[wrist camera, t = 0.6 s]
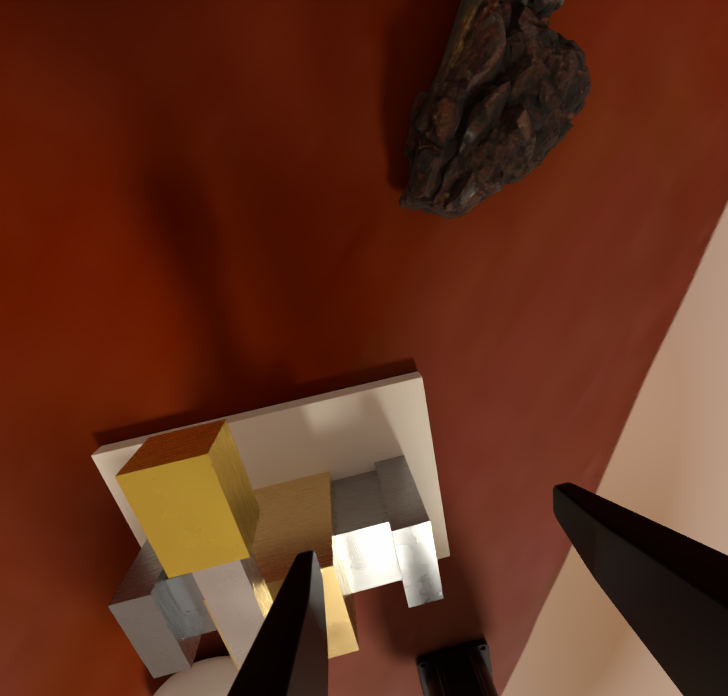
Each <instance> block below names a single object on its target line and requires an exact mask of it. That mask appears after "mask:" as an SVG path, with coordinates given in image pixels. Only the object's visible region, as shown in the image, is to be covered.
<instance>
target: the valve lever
mask: <svg viewBox="0 0 728 696" xmlns="http://www.w3.org/2000/svg"><path fill="white" fill-rule="evenodd" d="M115 478H116V480H117V482H118V484H119V486H120V488H121V490H122V491H123V493H124V495H125V497H126V499H127V501H128V503H129V505H130V506H131V508H132V510H133V512H134V514H135V516H136V518H137V520H138V522H139V523H140V525H141V527H142V529H143V531H144V533H145V535H146V537H147V538H148V540H149V542H150V544H151V546H152V548H153V550H154V552H155V554H156V555H157V557H158V559H159V561H160V563H161V565H162V567H163V569H164V570H165V572H166V574H167V576H168V578H172V577H176V576H180V575H184V574H188V573H192V575H193V577H194V579H195V581H196V583H197V585H198V587H199V589H200V591H201V593H202V595H203V597H204V599H205V601H206V603H207V605H208V607H209V609H210V611H211V613H212V615H213V617H214V619H215V621H216V623H217V625H218V627H219V629H220V631H221V633H222V635H223V637H224V639H225V641H226V643H227V645H228V647H229V649H230V651H231V653H232V655H233V657H234V659H235V661H236V663H237V665H238V667H239V669H240V668H241V666H242V664H243V662H244V660H245V658H246V656H247V654H248V652H249V650H250V648H251V646H252V644H253V642H254V640H255V638H256V636H257V634H258V632H259V630H260V628H261V626H262V624H263V622H264V620H265V618H266V616H267V613H268V611H269V609H270V607H271V605H272V603H273V600H272V598H271V595H270V593H269V591H268V588H267V586H266V583H265V581H264V578H263V576H262V573H261V571H260V568H259V566H258V564H257V561H256V559H255V556H254V554H253V551H252V546H253V542H254V537H255V533H256V528H257V524H258V519H259V515H260V508H259V505H258V502H257V500H256V497H255V495H254V492H253V489H252V487H251V484H250V481H249V479H248V476H247V473H246V471H245V468H244V465H243V463H242V460H241V457H240V455H239V452H238V449H237V447H236V444H235V441H234V439H233V436H232V433H231V431H230V428H229V426H228V423H227V420H226V419H224V420H220V421H215V422H211V423H207V424H203V425H199V426H194V427H190V428H186V429H182V430H177V431H173V432H169V433H165V434H161V435H156V436H152V437H149V438H148V439H147V440H146V441H145V442H144V443H143V444H142V446H141V447H140V448H139V449H138V450H137V451H136V452H135V454H134V455H133V456H132V457H131V458H130V459H129V461H128V462H127V463H126V464H125V465H124V466H123V467H122V469H121V470H120V471H119V472H118V473H117V474H116V475H115Z"/></svg>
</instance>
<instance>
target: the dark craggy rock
mask: <svg viewBox="0 0 728 696" xmlns="http://www.w3.org/2000/svg"><path fill="white" fill-rule="evenodd" d="M563 1H564V0H461V2H460V5H459V8H458V11H457V14H456V17H455V21H454V24H453V27H452V30H451V33H450V37H449V40H448V43H447V46H446V49H445V52H444V55H443V58H442V61H441V64H440V67H439V70H438V72H437V75H436V76H435V77H434V78H433V80H432V83H431V85H430V87H429V89H428V91H420V92H419V93H418V94H417V95H416V98H415V100H414V102H413V105H412V107H411V111H410V118H409V122H410V124H409V135H408V138H407V141H406V143H405V144H404V151H403V153H404V156H405V157H406V158H407V159H408V161H409V162H410V163H409V177H410V179H409V180H408V181H407V187H406V188H405V190H404V191H403V193H402V195H401V197H400V199H399V204H400V206H401V207H402V208H409V209H411V210H418V209H419V208H421V209H422V210H423V212H425V213H429V214H437V215H439V216H442V217H445V218H447V219H450V218H453V217H460V216H462V215H464V214H467V213H468V212H469V211H470V210H472V209H473V208H474V207H475V206H476V205H477V204H479V203H481V202H483V201H484V200H485V199H486V198H487V197H488V196H490V195H492V194H494V193H496V192H498V191H500V190H501V186H502V185H505V184H511V183H517V182H519V181H520V180H521V179H523V178H524V177H525V176H526V175H527V174H528V173H529V172H531V171H532V170H534V169H535V168H537V167H538V165H540V164H542V161H543V159H544V158H545V157H546V155H547V154H548V153H549V152H550V150H551V149H552V148H554V147H555V146H556V145H557V144H558V143H560V142H561V141H562V140H563V139H564V137H565V135H566V134H567V132H568V131H569V130H570V129H571V128H572V127H573V125H572V124H570V122H571V121H572V119H574V118H575V117H576V116H577V115H578V114H579V113H580V111H581V110H582V108H583V107H584V105H585V104H586V103H585V101H584V99H585V98H586V97H587V96H588V95H589V94H590V87H591V82H590V81H591V80H590V76H589V71H588V68H587V67H586V66H585V53H584V52H583V51H582V50H581V49H580V47H579V46H578V45H577V43H576V42H575V41H574V40H566V39H565V38H564V37H563V36H562V35H561V34H560V33H556V32H555V31H553V30H551V29H550V28H548V24H549V20H550V17H549V16H550V15H551V14H552V12H553V11H554V10H557V9H558V8H560V7H561V6H562V4H563Z"/></svg>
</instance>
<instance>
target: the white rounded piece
mask: <svg viewBox="0 0 728 696" xmlns="http://www.w3.org/2000/svg"><path fill="white" fill-rule="evenodd" d="M237 674H238V670H237V668H236V666H235V664H234V662H233V660H232V658H231V656H221V657H214V658H209V659H205V660H201V661H198V662H196V663H193V665H192V668H190V669H186V670H183V671H179V672H176V673H175V674H173V675H172V676H171V677H170V678H169V679H168V680H167V681H166V682H165V683H164V684H163V685H162V686H161V687H160V688H159V689H158V690H157V691H156V692H155V694H154V695H153V696H227V694H228V692H229V690H230V688H231V686H232V684H233V682H234V680H235V678H236V676H237Z"/></svg>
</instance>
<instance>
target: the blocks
mask: <svg viewBox="0 0 728 696" xmlns="http://www.w3.org/2000/svg"><path fill="white" fill-rule="evenodd" d="M375 466H376V470H373V471H369V472H365V473H361V474H357V475H353V476H349V477H346V478H342V479H338V480H334V481H332V479H331V475H330V472H329V471H327V472H323V473H319V474H315V475H311V476H307V477H303V478H299V479H295V480H291V481H287V482H283V483H279V484H275V485H271V486H267V487H263V488H259V489H255V490H253V492H254V495H255V497H256V500H257V502H258V505H259V508H260V515H259V519H258V524H257V528H256V533H255V537H254V542H253V546H252V551H253V554H254V556H255V559H256V561H257V564H258V566H259V568H260V571H261V573H262V576H263V578H264V581H265V583H266V586H267V588H268V591H269V593H270V595H271V598H272V600H273V601H274V599H275V597H276V595H277V593H278V591H279V589H280V587H281V585H282V583H283V581H284V579H285V577H286V575H287V573H288V571H289V569H290V567H291V565H292V563H293V561H294V559H295V557H296V555H297V554H298V553H300V552H303V551H307V550H314V552H315V554H316V557H317V560H318V563H319V566H320V569H321V572H322V578H323V587H324V600H325V613H326V626H327V639H328V659H329V658H332V657H336V656H339V655H343V654H346V653H350V652H353V651H357V650H359V643H358V632H357V622H356V611H355V601H354V593H355V592H359V591H362V590H366V589H370V588H373V587H377V586H381V585H385V584H388V583H392V582H396V581H399V580H402V582H403V586H404V590H405V594H406V598H407V602H408V606H409V608H410V607H414V606H418V605H421V604H425V603H429V602H432V601H436V600H439V599H443V592H442V586H441V580H440V575H439V569H438V563H437V557H436V552H435V546H434V540H433V535H432V529H431V523H430V520H429V517H428V514H427V512H426V509H425V507H424V504H423V502H422V499H421V497H420V494H419V492H418V489H417V487H416V484H415V481H414V479H413V476H412V474H411V471H410V469H409V466H408V464H407V461H406V459H405V456H404V455H402V456H398V457H394V458H390V459H386V460H382V461H378V462H375ZM108 607H109V609H110V610H111V612H112V613H113V615H114V617H115V618H116V620H117V621H118V623H119V624H120V626H121V628H122V629H123V631H124V632H125V634H126V635H127V637H128V639H129V640H130V642H131V643H132V645H133V646H134V648H135V650H136V651H137V653H138V654H139V656H140V657H141V659H142V661H143V662H144V664H145V665H146V667H147V669H148V670H149V672H150V673H151V675H152V676H153V678H157V677H161V676H165V675H168V674H172V673H175V672H179V671H183V670H186V669H190V668H192V665H193V662H194V658H195V655H196V652H197V648H198V645H199V642H200V639H201V635H202V634H204V633H208V632H211V631H215V630H218V632H219V634H220V636H221V638H222V640H223V642H224V644H225V646H226V648H227V650H228V652H229V654H230V656H231V658H232V660H233V662H234V664H235V666H236V668H237V670H238V672H239V670H240V669H239V667H238V665H237V663H236V661H235V659H234V657H233V655H232V653H231V651H230V649H229V647H228V645H227V643H226V641H225V639H224V637H223V635H222V633H221V631H220V629H219V627H218V625H217V623H216V621H215V619H214V617H213V615H212V613H211V611H210V609H209V607H208V605H207V603H206V601H205V599H204V597H203V595H202V593H201V591H200V589H199V587H198V585H197V583H196V581H195V579H194V577H193V575H192V573H188V574H184V575H180V576H176V577H172V578H168V576H167V574H166V572H165V570H164V569H163V567H162V565H161V563H160V561H159V559H158V557H157V555H156V554H155V552H154V550H153V548H152V546H151V544H150V542H149V540H148V538H147V539H146V541H145V543H144V545H143V546H142V548H141V550H140V552H139V553H138V555H137V557H136V558H135V560H134V562H133V564H132V565H131V567H130V569H129V570H128V572H127V574H126V576H125V577H124V579H123V581H122V582H121V584H120V586H119V588H118V589H117V591H116V593H115V594H114V596H113V598H112V600H111V601H110V603H109V605H108Z"/></svg>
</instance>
